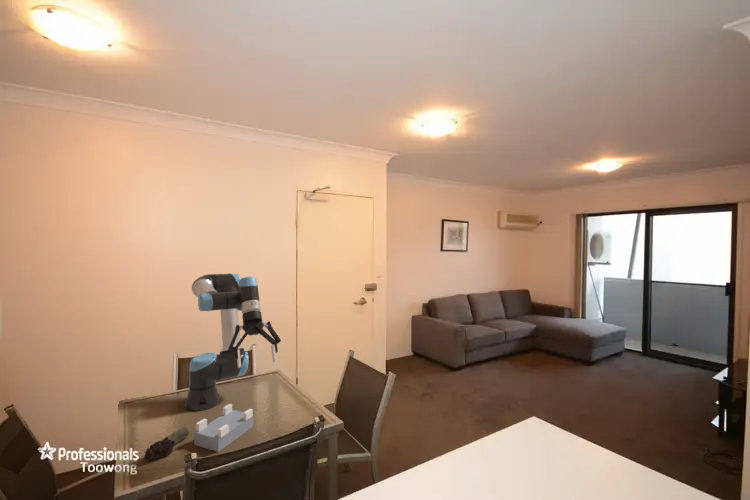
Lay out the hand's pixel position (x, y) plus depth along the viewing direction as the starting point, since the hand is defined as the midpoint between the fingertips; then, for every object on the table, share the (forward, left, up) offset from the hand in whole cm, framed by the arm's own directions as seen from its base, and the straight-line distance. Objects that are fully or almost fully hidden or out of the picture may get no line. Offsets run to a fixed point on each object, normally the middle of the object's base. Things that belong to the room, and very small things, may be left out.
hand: (257, 364), depth 139 cm
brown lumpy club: (-28, -16, -32) cm, 46 cm away
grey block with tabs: (-15, 0, -32) cm, 35 cm away
